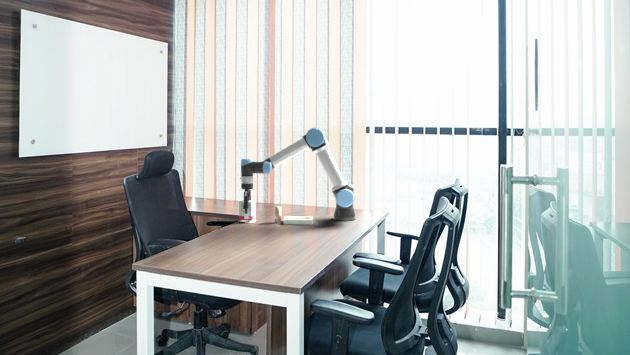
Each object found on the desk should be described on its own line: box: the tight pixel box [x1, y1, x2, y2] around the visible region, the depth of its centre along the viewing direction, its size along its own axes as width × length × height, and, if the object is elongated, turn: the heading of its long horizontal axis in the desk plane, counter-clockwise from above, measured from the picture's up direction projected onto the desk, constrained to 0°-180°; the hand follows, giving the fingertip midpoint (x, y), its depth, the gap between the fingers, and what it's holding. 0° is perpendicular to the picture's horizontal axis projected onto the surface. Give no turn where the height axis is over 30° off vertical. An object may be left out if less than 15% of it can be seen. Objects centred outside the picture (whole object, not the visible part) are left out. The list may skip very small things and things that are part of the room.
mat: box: [239, 219, 257, 224], centre depth 313 cm, size 10×10×1 cm
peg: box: [274, 206, 282, 224], centre depth 309 cm, size 4×4×10 cm
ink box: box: [238, 199, 257, 221], centre depth 312 cm, size 9×9×12 cm
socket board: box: [283, 215, 314, 226], centre depth 309 cm, size 18×12×3 cm, turn 89°
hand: (247, 217), depth 313 cm, fingers closed on ink box, 9 cm apart
